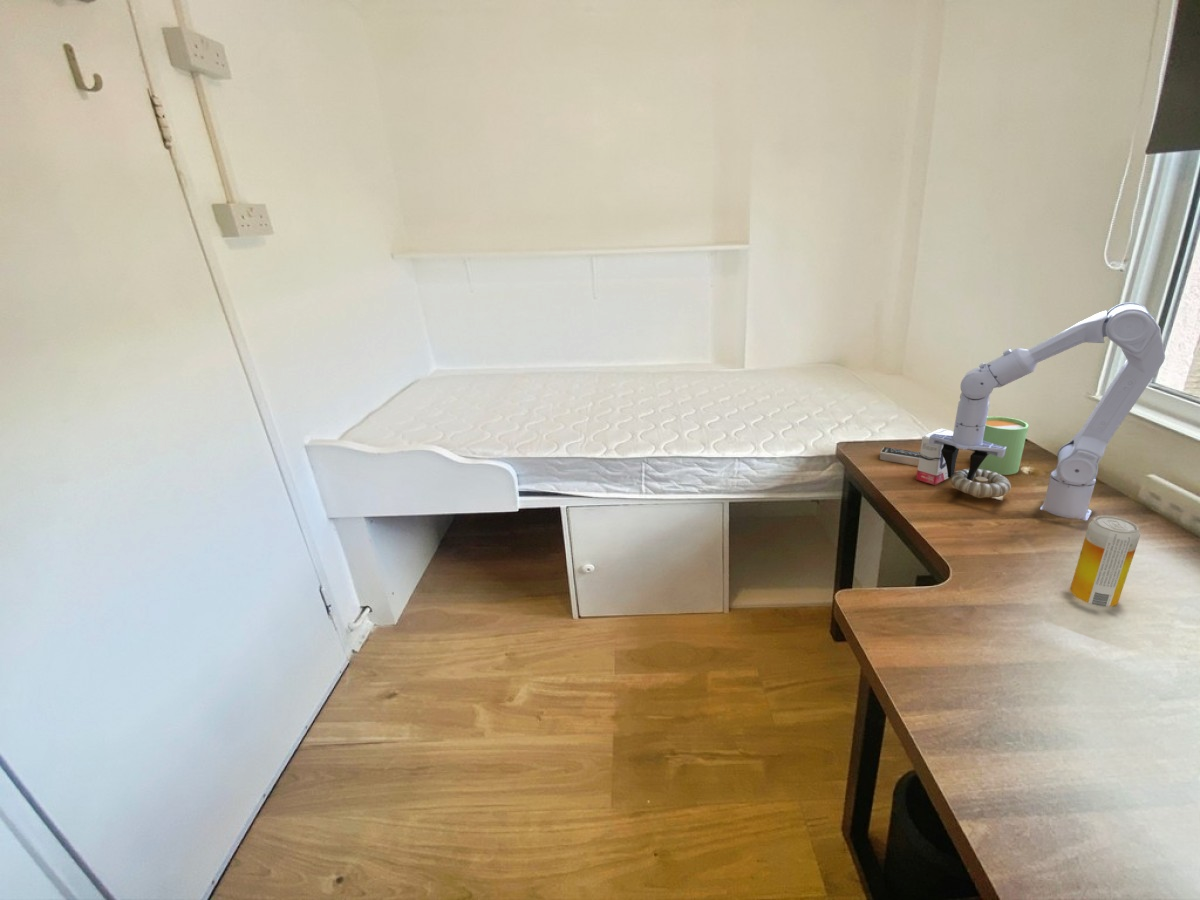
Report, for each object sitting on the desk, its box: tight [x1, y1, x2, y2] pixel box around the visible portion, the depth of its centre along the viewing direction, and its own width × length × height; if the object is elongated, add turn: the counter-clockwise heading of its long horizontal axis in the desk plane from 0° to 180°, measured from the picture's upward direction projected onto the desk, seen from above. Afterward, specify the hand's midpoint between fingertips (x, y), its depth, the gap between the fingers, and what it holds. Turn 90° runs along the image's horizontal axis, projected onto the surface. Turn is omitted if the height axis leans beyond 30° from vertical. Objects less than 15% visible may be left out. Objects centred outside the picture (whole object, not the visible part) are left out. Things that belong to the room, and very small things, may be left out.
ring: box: [950, 468, 1012, 498], centre depth 125 cm, size 11×11×3 cm
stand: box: [971, 477, 1004, 501], centre depth 125 cm, size 8×8×6 cm
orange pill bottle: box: [1069, 515, 1141, 607], centre depth 90 cm, size 6×6×15 cm
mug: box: [972, 416, 1030, 476], centre depth 141 cm, size 13×10×12 cm
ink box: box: [915, 428, 954, 486], centre depth 137 cm, size 8×5×12 cm, turn 122°
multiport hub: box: [879, 446, 920, 467], centre depth 149 cm, size 4×11×2 cm, turn 52°
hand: (960, 478), depth 127 cm, fingers closed on ring, 3 cm apart
